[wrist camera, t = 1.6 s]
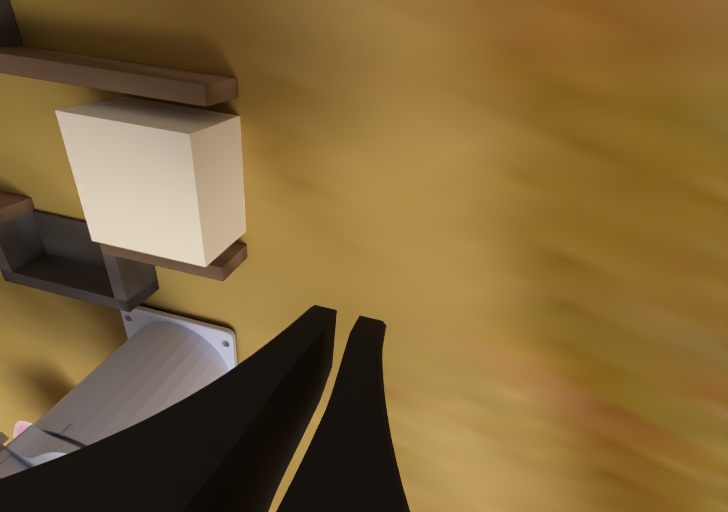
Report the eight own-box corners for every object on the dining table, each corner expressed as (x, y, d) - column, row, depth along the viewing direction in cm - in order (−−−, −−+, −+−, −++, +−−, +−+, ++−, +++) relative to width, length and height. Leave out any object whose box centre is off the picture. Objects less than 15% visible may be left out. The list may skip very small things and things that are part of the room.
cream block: (247, 229, 22) (205, 267, 18) (149, 208, 23) (91, 240, 19) (241, 115, 19) (189, 134, 15) (128, 96, 19) (54, 110, 16)
